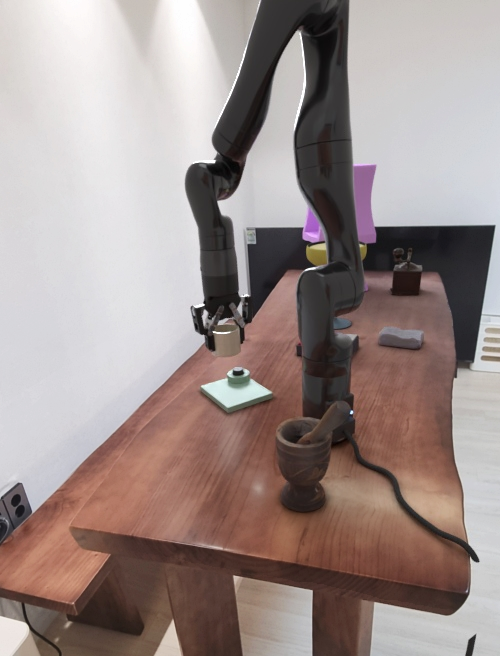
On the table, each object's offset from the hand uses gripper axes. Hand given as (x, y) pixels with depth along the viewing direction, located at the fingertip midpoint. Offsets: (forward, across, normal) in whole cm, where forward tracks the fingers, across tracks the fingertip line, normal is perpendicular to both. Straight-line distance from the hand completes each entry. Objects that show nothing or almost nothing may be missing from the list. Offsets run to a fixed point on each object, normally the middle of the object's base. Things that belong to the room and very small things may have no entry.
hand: (226, 346), depth 103 cm
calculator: (+14, +36, +9) cm, 40 cm away
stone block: (+14, +57, +1) cm, 59 cm away
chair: (+14, +84, +61) cm, 105 cm away
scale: (+13, +2, +2) cm, 14 cm away
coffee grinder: (+14, +97, +35) cm, 104 cm away
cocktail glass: (+14, +53, +26) cm, 61 cm away
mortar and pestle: (+13, -7, -39) cm, 42 cm away
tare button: (+11, +6, +6) cm, 14 cm away
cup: (+1, 0, 0) cm, 1 cm away
